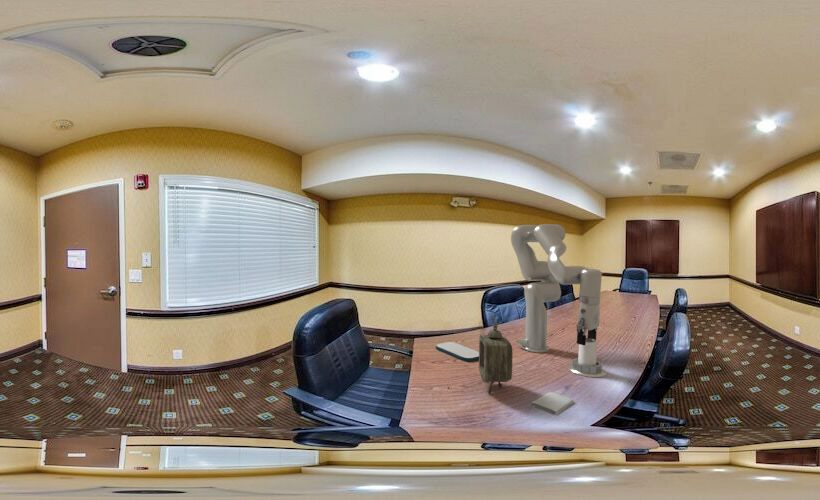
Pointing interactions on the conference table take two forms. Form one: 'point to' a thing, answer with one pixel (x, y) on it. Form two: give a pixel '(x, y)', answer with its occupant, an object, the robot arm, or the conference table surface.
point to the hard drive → (552, 402)
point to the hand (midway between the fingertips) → (586, 342)
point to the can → (588, 353)
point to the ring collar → (587, 369)
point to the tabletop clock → (495, 357)
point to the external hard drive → (458, 351)
